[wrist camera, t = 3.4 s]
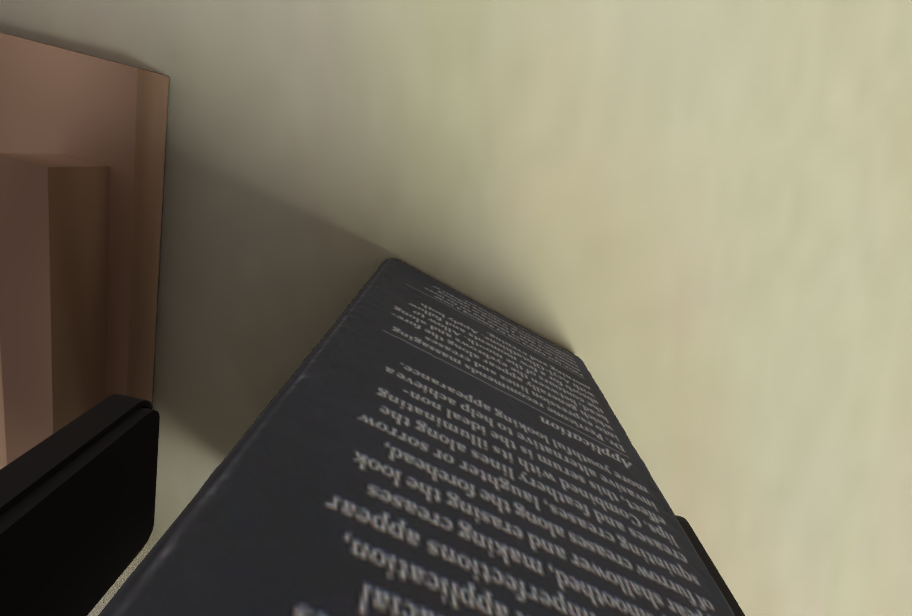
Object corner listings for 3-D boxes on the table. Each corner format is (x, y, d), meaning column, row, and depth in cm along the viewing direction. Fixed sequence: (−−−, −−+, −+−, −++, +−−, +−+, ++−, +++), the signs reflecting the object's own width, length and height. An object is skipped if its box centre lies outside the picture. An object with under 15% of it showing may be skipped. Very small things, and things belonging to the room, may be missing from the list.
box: (442, 566, 14) (378, 1626, 4) (265, 487, 13) (-377, 1535, 3) (589, 354, 12) (1314, 1490, 2) (389, 245, 11) (-389, 1096, 1)
